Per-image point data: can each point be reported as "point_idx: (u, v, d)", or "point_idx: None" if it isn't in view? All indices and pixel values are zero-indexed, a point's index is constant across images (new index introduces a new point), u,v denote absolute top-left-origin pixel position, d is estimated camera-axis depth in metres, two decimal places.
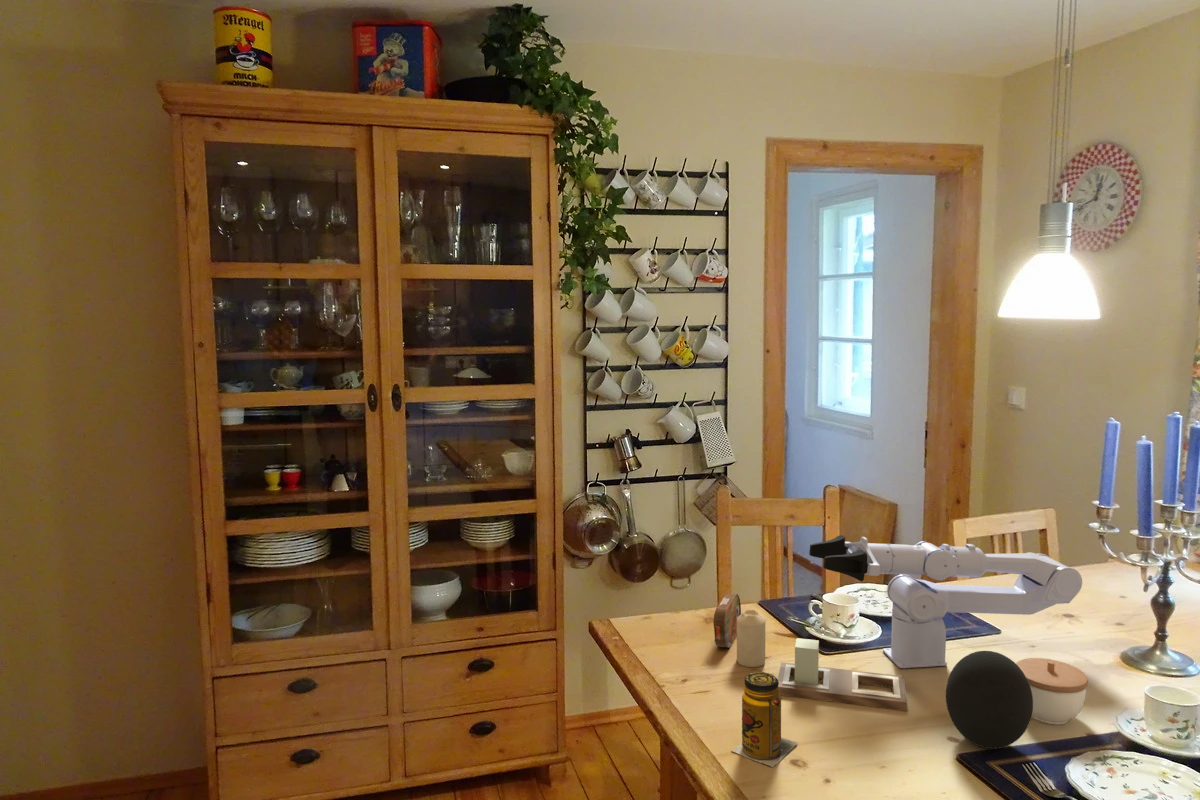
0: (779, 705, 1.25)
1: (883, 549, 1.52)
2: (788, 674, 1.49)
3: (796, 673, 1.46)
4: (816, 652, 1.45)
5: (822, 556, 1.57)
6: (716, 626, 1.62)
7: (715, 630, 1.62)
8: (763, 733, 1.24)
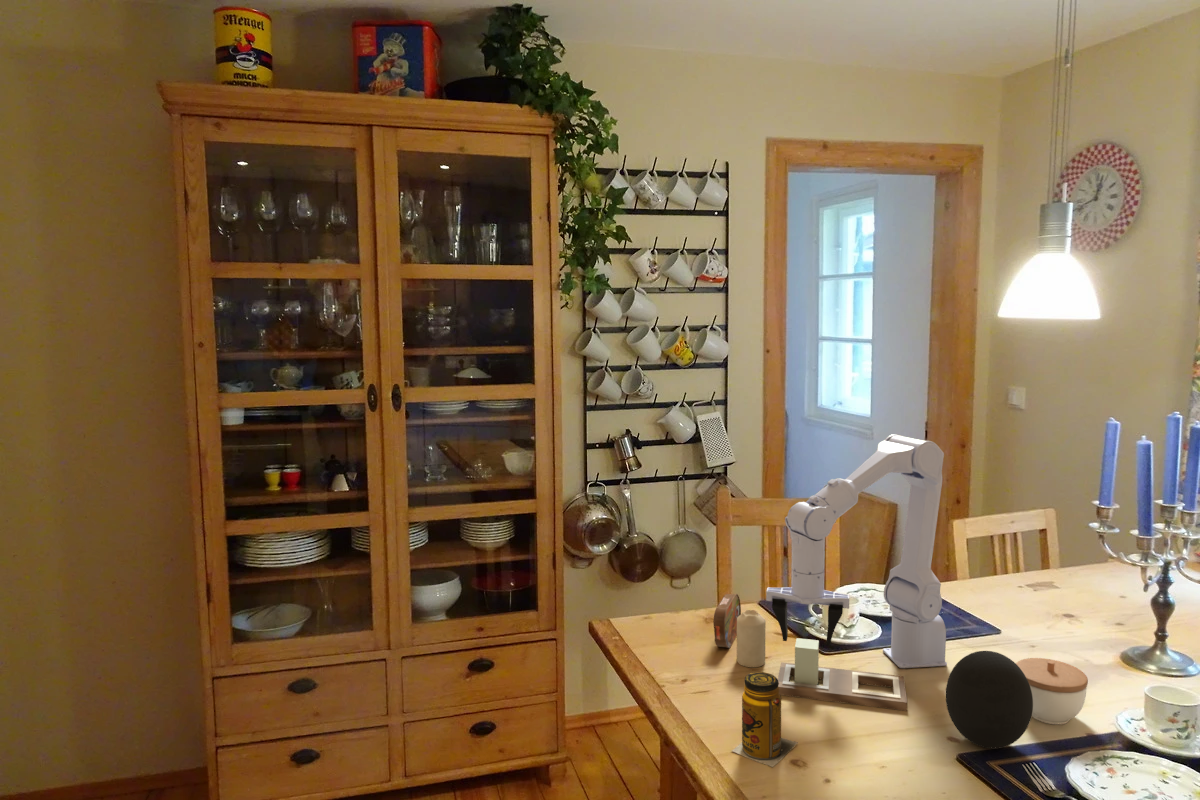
0: (779, 705, 1.25)
1: (817, 582, 1.43)
2: (788, 674, 1.49)
3: (796, 673, 1.46)
4: (816, 652, 1.45)
5: None
6: (716, 626, 1.62)
7: (715, 630, 1.62)
8: (763, 733, 1.24)
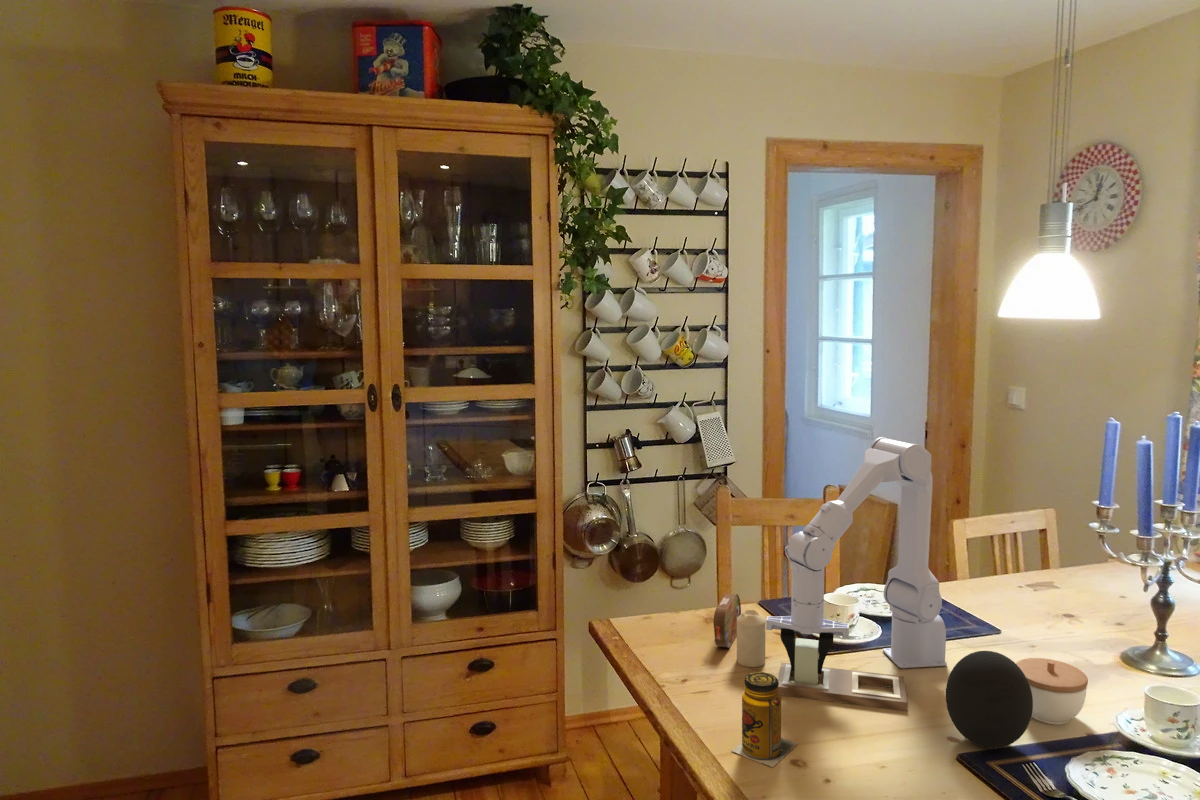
0: (779, 705, 1.25)
1: (816, 612, 1.43)
2: (788, 674, 1.49)
3: (796, 673, 1.46)
4: (816, 652, 1.45)
5: None
6: (716, 626, 1.62)
7: (715, 630, 1.62)
8: (763, 733, 1.24)
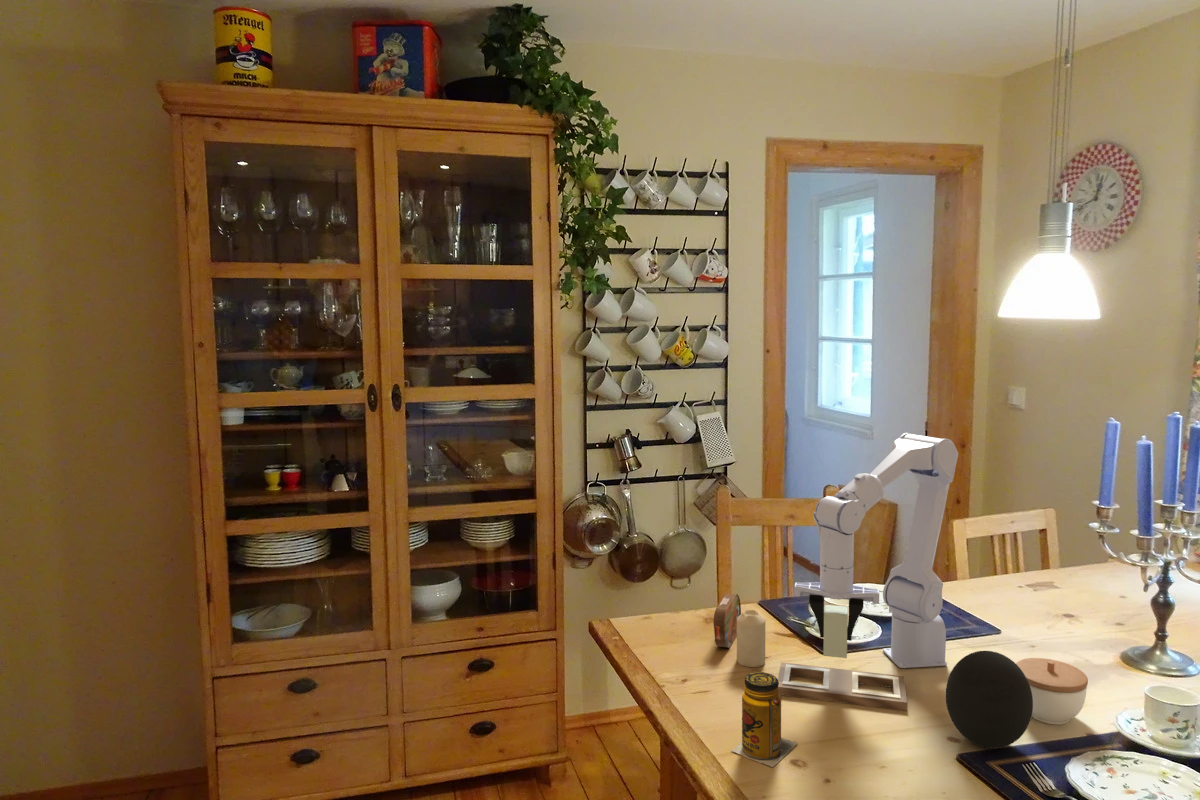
0: (779, 705, 1.25)
1: (846, 577, 1.41)
2: (788, 674, 1.49)
3: (825, 640, 1.44)
4: (846, 618, 1.42)
5: None
6: (716, 626, 1.62)
7: (715, 630, 1.62)
8: (763, 733, 1.24)
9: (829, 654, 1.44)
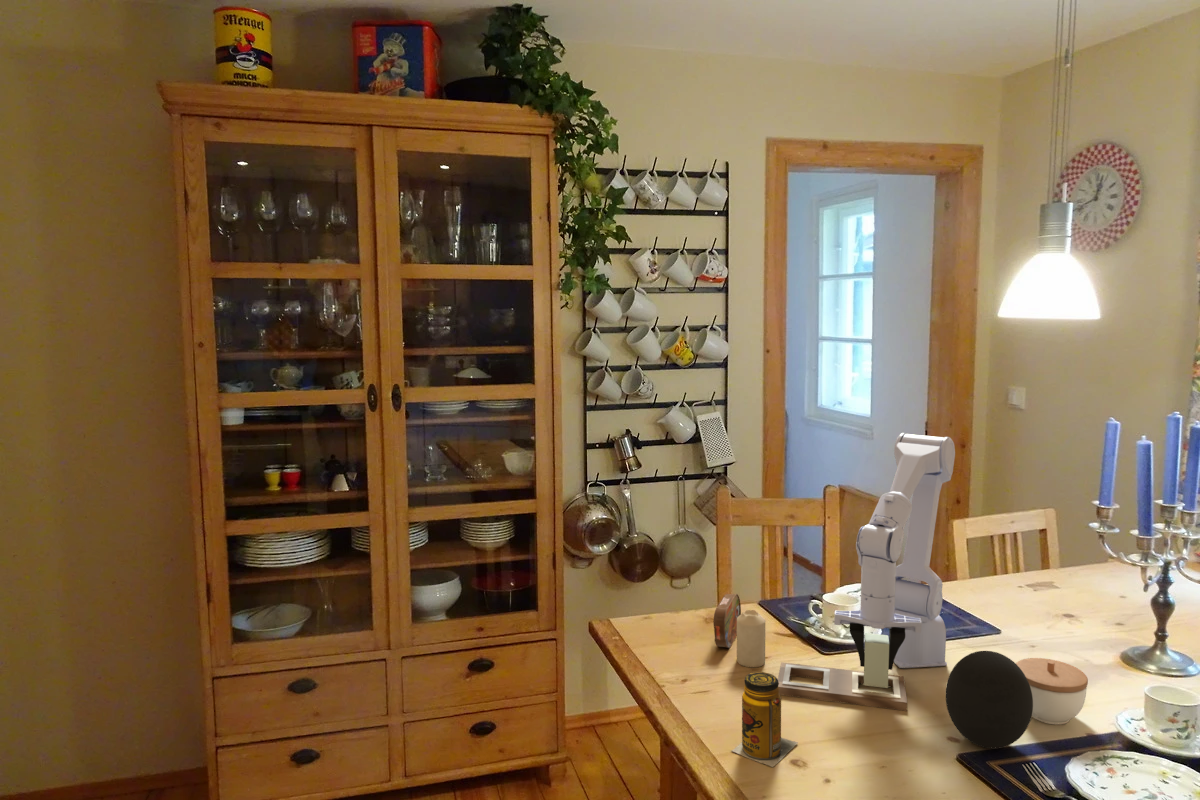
0: (779, 705, 1.25)
1: (888, 606, 1.40)
2: (788, 674, 1.49)
3: (866, 669, 1.42)
4: (887, 647, 1.41)
5: None
6: (716, 626, 1.62)
7: (715, 630, 1.62)
8: (763, 733, 1.24)
9: (870, 683, 1.42)
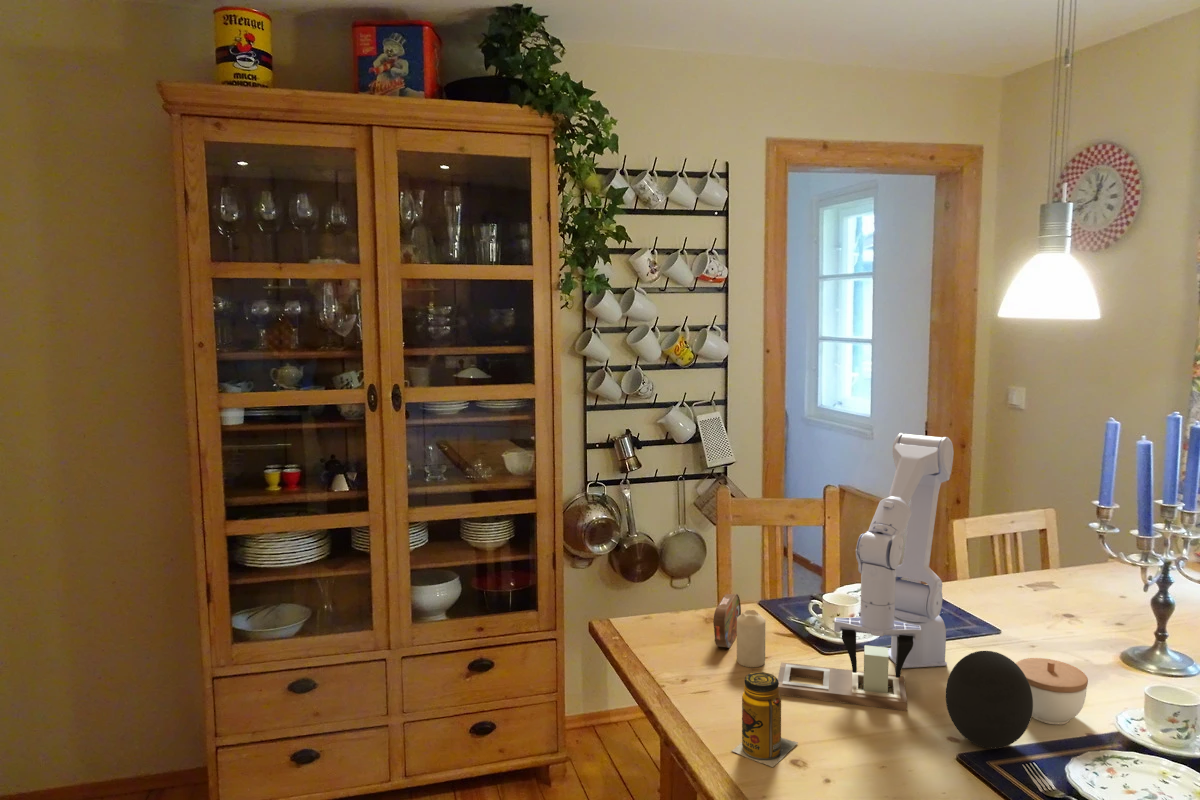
0: (779, 705, 1.25)
1: (888, 613, 1.40)
2: (788, 674, 1.49)
3: (865, 681, 1.43)
4: (887, 660, 1.41)
5: None
6: (716, 626, 1.62)
7: (715, 630, 1.62)
8: (763, 733, 1.24)
9: None
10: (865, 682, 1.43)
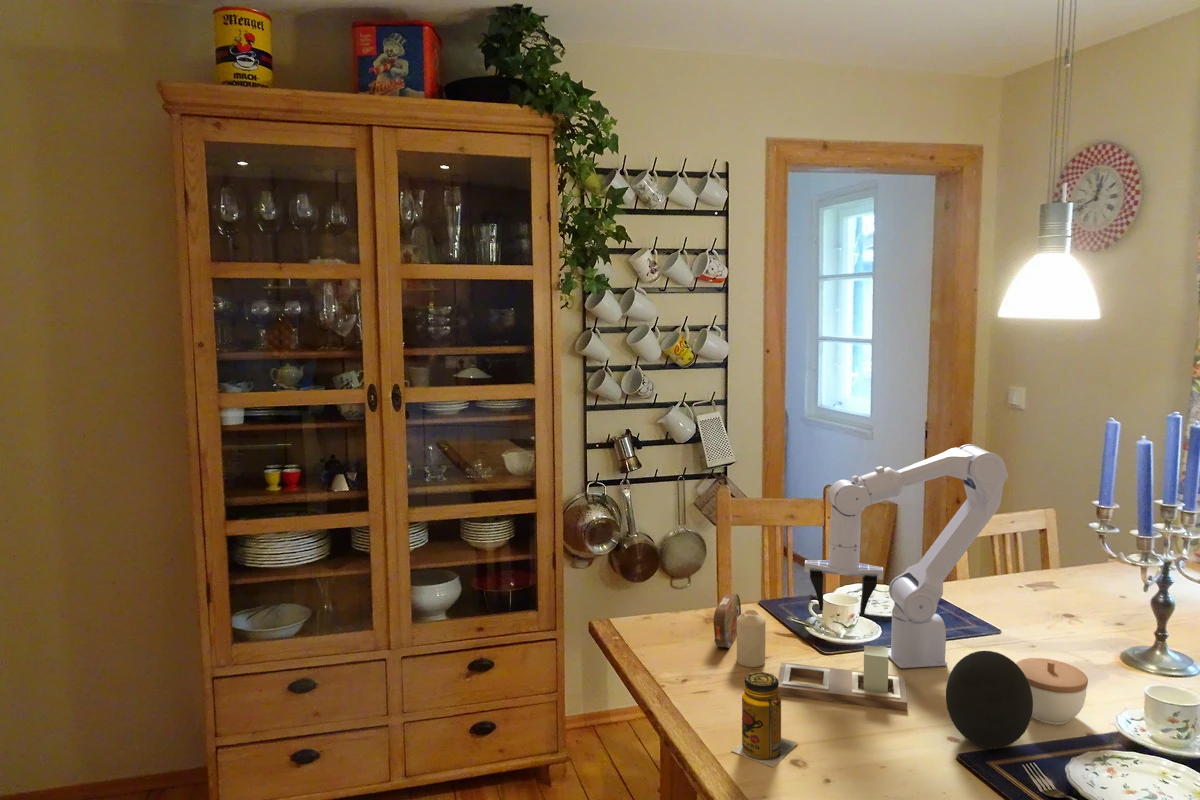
0: (779, 705, 1.25)
1: (853, 555, 1.53)
2: (788, 674, 1.49)
3: (865, 681, 1.43)
4: (887, 660, 1.41)
5: None
6: (716, 626, 1.62)
7: (715, 630, 1.62)
8: (763, 733, 1.24)
9: None
10: (865, 682, 1.43)
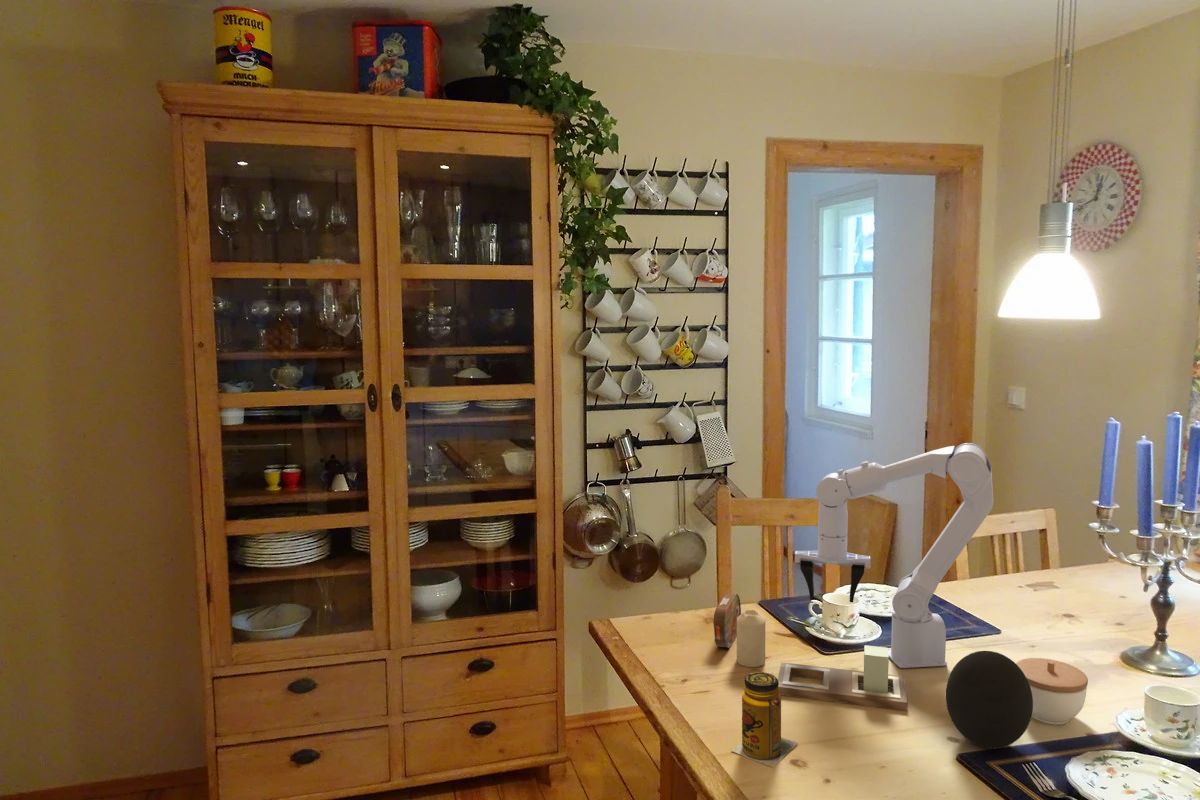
0: (779, 705, 1.25)
1: (841, 544, 1.59)
2: (788, 674, 1.49)
3: (865, 681, 1.43)
4: (887, 660, 1.41)
5: (813, 583, 1.65)
6: (716, 626, 1.62)
7: (715, 630, 1.62)
8: (763, 733, 1.24)
9: None
10: (865, 682, 1.43)
